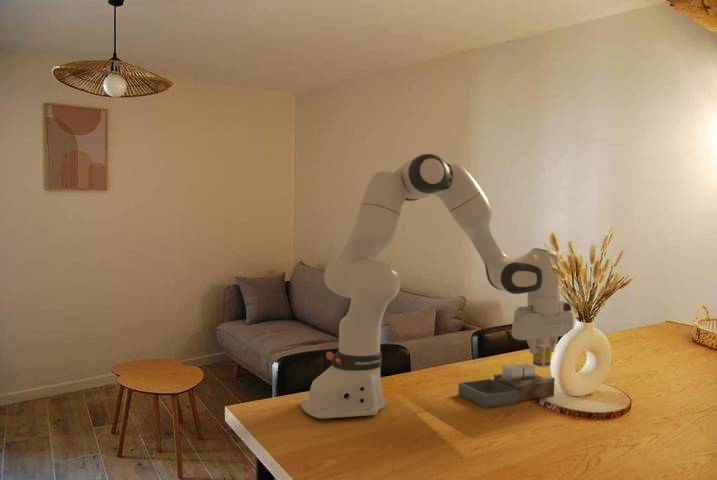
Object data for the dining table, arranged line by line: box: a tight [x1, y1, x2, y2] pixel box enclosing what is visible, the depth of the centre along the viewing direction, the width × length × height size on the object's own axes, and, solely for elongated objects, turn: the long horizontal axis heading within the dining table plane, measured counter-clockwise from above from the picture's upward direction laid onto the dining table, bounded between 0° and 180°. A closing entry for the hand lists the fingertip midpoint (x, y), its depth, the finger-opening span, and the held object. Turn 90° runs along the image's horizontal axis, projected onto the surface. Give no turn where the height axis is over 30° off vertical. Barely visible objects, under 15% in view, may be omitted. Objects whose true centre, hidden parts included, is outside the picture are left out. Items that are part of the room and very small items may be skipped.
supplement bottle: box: [532, 337, 552, 368], centre depth 156 cm, size 5×5×8 cm
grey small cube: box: [514, 362, 536, 381], centre depth 153 cm, size 4×4×4 cm
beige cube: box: [501, 364, 523, 384], centre depth 151 cm, size 4×4×4 cm
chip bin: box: [457, 378, 520, 410], centre depth 148 cm, size 11×12×3 cm
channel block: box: [493, 373, 555, 402], centre depth 153 cm, size 14×9×5 cm, turn 115°
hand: (542, 352), depth 156 cm, fingers closed on supplement bottle, 5 cm apart
